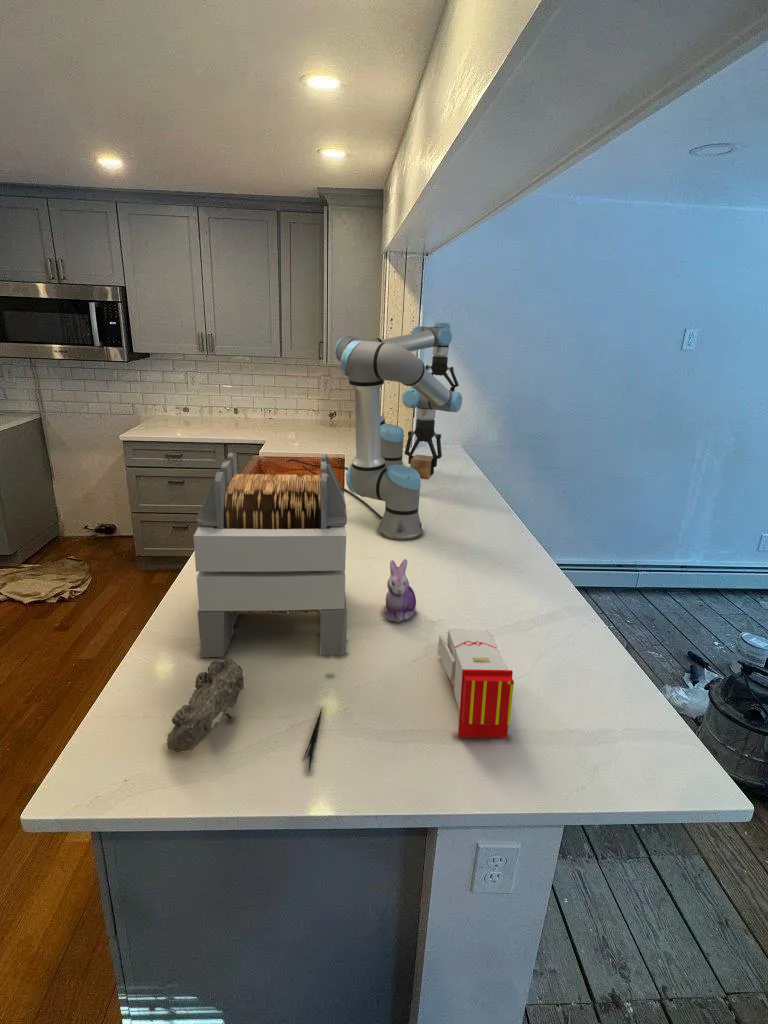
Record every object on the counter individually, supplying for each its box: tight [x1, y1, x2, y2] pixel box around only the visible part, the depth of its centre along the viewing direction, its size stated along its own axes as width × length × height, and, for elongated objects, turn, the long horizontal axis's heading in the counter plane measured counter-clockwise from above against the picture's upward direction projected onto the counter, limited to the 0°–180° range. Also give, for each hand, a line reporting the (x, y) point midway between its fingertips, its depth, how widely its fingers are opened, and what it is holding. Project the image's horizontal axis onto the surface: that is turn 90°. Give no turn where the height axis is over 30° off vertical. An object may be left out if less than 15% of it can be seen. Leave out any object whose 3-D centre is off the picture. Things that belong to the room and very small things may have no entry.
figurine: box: [384, 558, 417, 623], centre depth 145 cm, size 9×10×15 cm
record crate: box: [193, 452, 348, 659], centre depth 136 cm, size 34×33×41 cm
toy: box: [437, 628, 515, 738], centre depth 117 cm, size 12×13×30 cm
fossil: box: [166, 658, 245, 754], centre depth 106 cm, size 22×10×15 cm
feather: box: [301, 673, 332, 771], centre depth 108 cm, size 2×28×2 cm
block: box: [409, 454, 433, 480], centre depth 237 cm, size 8×9×8 cm
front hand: (421, 472), depth 237 cm, fingers closed on block, 8 cm apart
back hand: (437, 399), depth 285 cm, fingers open, 13 cm apart
